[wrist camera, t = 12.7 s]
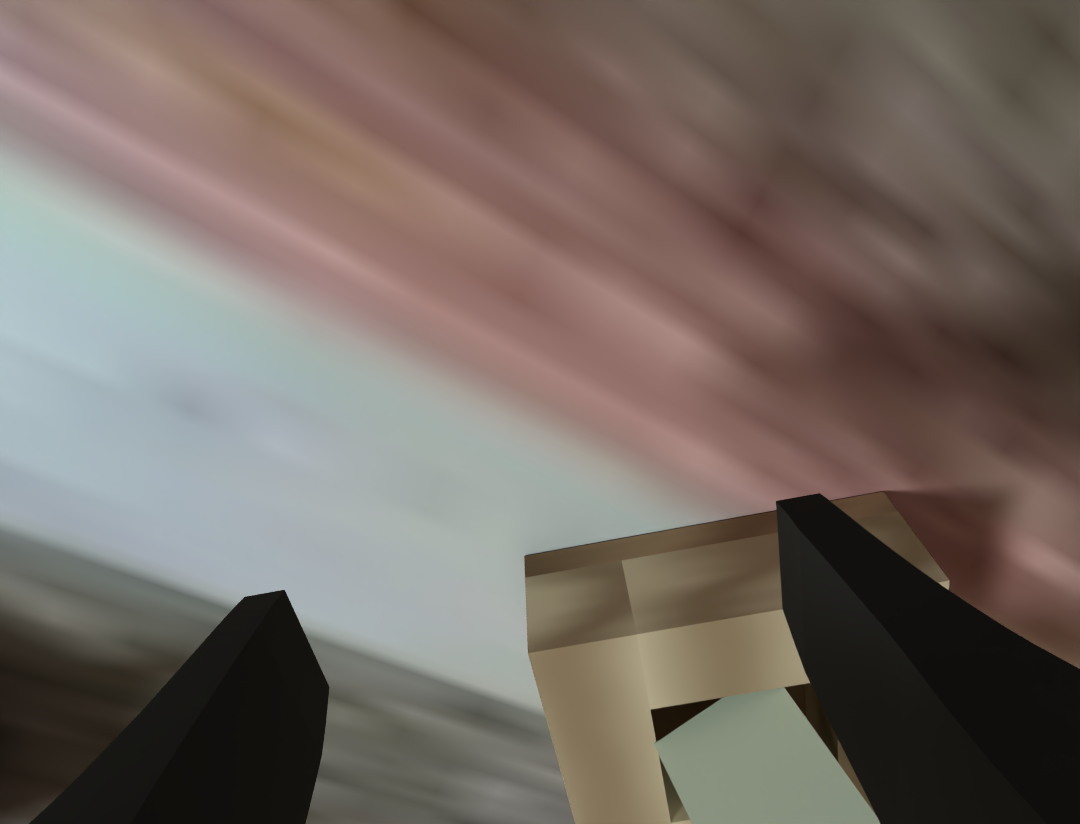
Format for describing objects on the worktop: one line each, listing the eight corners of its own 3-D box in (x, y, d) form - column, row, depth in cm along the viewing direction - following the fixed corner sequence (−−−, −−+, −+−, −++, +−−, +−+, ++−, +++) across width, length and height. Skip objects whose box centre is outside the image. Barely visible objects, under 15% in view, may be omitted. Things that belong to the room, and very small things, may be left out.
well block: (883, 491, 24) (949, 580, 20) (877, 734, 29) (929, 838, 25) (524, 556, 24) (528, 653, 21) (583, 782, 30) (593, 889, 26)
